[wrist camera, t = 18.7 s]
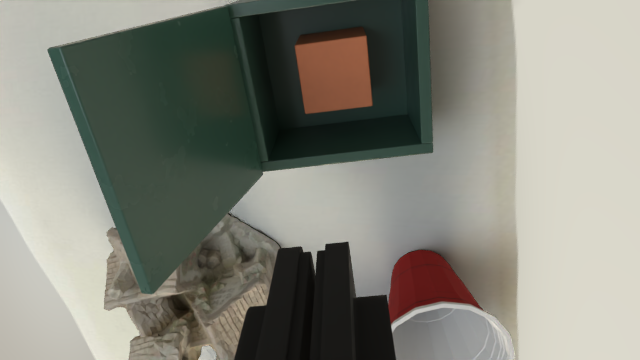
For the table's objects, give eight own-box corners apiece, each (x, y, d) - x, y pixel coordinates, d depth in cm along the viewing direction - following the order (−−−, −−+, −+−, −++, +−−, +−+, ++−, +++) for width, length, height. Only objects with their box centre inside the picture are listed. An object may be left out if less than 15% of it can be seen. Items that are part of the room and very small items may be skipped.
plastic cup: (475, 220, 43) (522, 306, 32) (473, 308, 48) (513, 408, 37) (362, 230, 44) (371, 316, 33) (370, 315, 49) (380, 415, 38)
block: (299, 34, 35) (294, 45, 31) (362, 26, 35) (366, 35, 30) (309, 96, 38) (305, 114, 33) (368, 89, 37) (372, 106, 33)
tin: (409, -27, 34) (427, -25, 27) (415, 119, 39) (433, 152, 32) (246, -3, 35) (224, 5, 28) (273, 136, 40) (259, 172, 33)
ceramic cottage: (298, 315, 49) (274, 441, 35) (153, 316, 50) (75, 437, 36) (283, 182, 43) (247, 270, 29) (120, 188, 44) (12, 275, 31)
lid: (60, 47, 16) (45, 48, 17) (152, 295, 21) (141, 294, 22) (227, 5, 28) (217, 6, 28) (263, 174, 33) (254, 174, 33)
